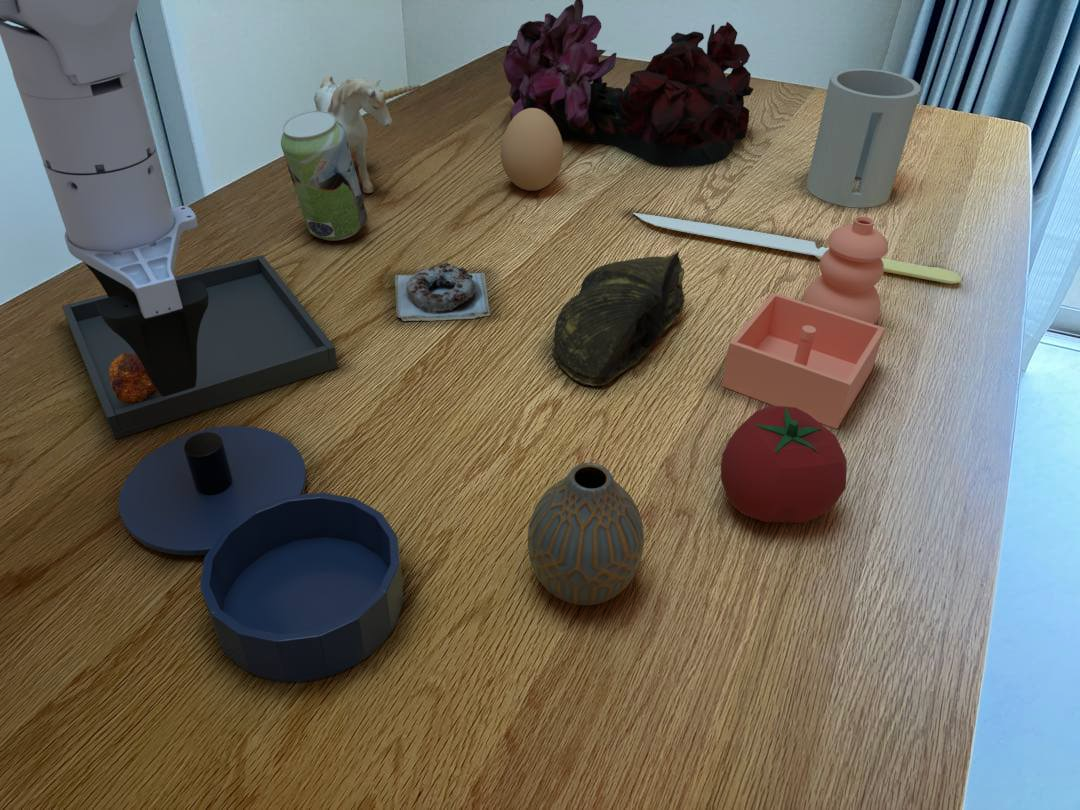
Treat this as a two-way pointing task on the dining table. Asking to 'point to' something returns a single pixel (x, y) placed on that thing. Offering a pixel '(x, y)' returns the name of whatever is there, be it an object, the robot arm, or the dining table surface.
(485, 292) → the donut
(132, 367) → the meatball
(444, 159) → the dining table surface
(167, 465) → the tin lid
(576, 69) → the flower arrangement
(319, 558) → the tin
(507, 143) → the egg
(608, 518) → the vase
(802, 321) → the pottery
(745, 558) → the dining table surface
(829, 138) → the cup
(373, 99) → the unicorn figurine
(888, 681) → the dining table surface
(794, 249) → the knife
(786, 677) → the dining table surface
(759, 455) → the tomato
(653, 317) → the seashell
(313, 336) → the tray
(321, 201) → the beverage can
